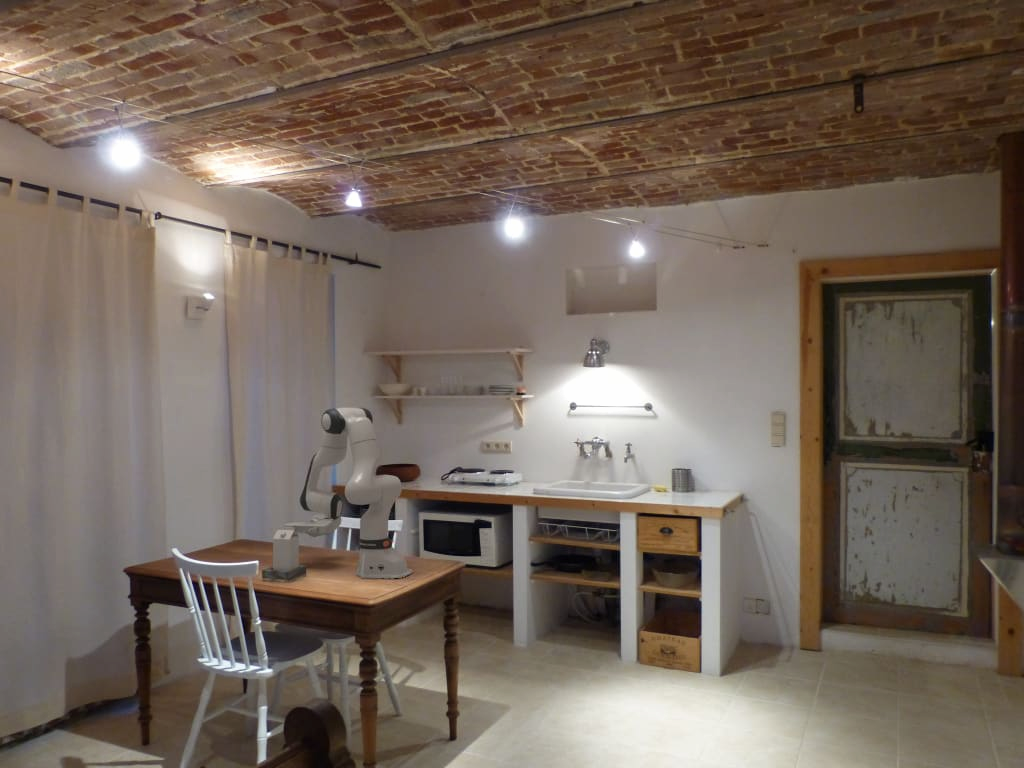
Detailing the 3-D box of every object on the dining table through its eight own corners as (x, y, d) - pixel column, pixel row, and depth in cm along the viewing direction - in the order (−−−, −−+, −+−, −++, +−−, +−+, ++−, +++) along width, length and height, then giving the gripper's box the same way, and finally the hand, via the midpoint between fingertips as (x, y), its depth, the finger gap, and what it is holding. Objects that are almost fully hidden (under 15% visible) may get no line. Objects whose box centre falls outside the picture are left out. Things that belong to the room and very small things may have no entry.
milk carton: (282, 573, 302) (282, 525, 303) (298, 574, 301) (298, 525, 301) (272, 577, 295) (273, 528, 296) (289, 578, 294) (289, 528, 294)
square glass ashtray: (306, 575, 302) (306, 565, 303) (289, 582, 291) (289, 572, 291) (280, 573, 306) (280, 563, 306) (262, 580, 294) (262, 570, 294)
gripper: (294, 518, 326) (275, 522, 313) (336, 518, 320) (319, 523, 307) (294, 532, 326) (275, 538, 312) (337, 534, 320) (319, 539, 307)
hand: (297, 531), depth 310 cm, fingers open, 8 cm apart
